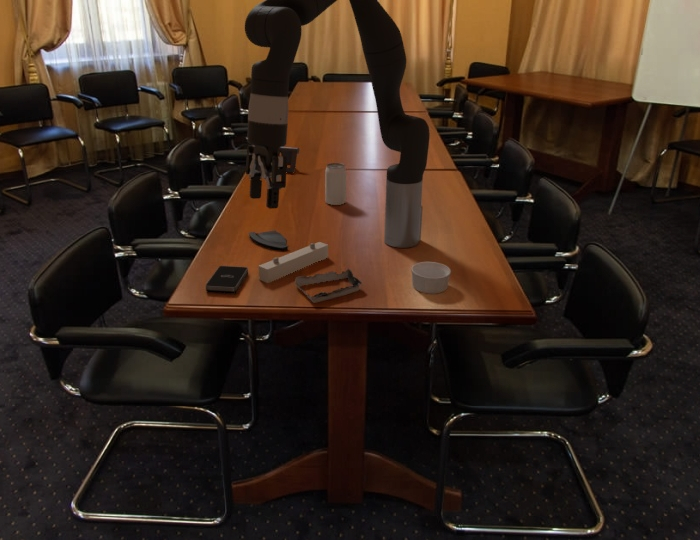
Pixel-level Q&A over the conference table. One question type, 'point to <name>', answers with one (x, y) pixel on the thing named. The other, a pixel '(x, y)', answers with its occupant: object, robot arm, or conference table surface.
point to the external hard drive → (227, 279)
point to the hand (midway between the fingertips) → (263, 202)
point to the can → (335, 184)
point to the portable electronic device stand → (289, 157)
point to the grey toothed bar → (292, 262)
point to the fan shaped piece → (270, 240)
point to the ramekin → (430, 277)
